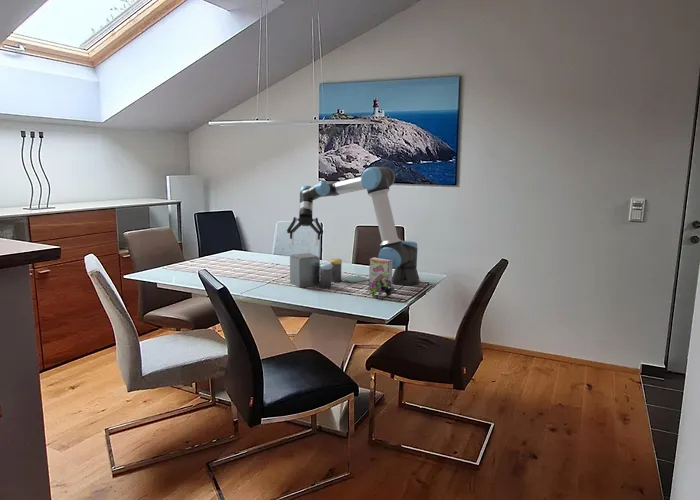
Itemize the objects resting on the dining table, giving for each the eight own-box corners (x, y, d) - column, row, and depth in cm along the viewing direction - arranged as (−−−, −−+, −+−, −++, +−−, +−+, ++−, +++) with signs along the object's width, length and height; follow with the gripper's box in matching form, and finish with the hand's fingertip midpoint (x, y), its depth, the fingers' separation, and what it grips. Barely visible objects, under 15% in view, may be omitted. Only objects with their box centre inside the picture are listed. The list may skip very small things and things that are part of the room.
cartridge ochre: (343, 281, 285) (343, 260, 283) (333, 282, 282) (333, 261, 280) (338, 279, 291) (338, 258, 289) (328, 280, 288) (328, 259, 286)
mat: (369, 280, 288) (369, 279, 288) (350, 283, 282) (350, 281, 282) (358, 276, 298) (358, 275, 298) (340, 278, 292) (340, 277, 292)
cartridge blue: (333, 287, 272) (333, 265, 270) (323, 288, 269) (323, 266, 267) (328, 284, 278) (328, 263, 275) (317, 286, 275) (317, 264, 272)
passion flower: (387, 306, 258) (401, 289, 254) (376, 307, 249) (390, 289, 245) (372, 290, 263) (386, 273, 259) (361, 291, 254) (375, 273, 250)
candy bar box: (368, 289, 269) (369, 258, 266) (373, 287, 273) (373, 257, 270) (387, 292, 263) (388, 261, 260) (392, 290, 268) (393, 259, 265)
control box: (319, 284, 277) (319, 256, 274) (299, 287, 271) (299, 258, 268) (309, 280, 288) (309, 252, 285) (289, 282, 282) (289, 254, 279)
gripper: (327, 214, 301) (327, 247, 292) (284, 213, 299) (282, 246, 290) (327, 208, 294) (327, 241, 285) (283, 207, 292) (281, 240, 283)
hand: (304, 244), depth 287 cm, fingers open, 13 cm apart
